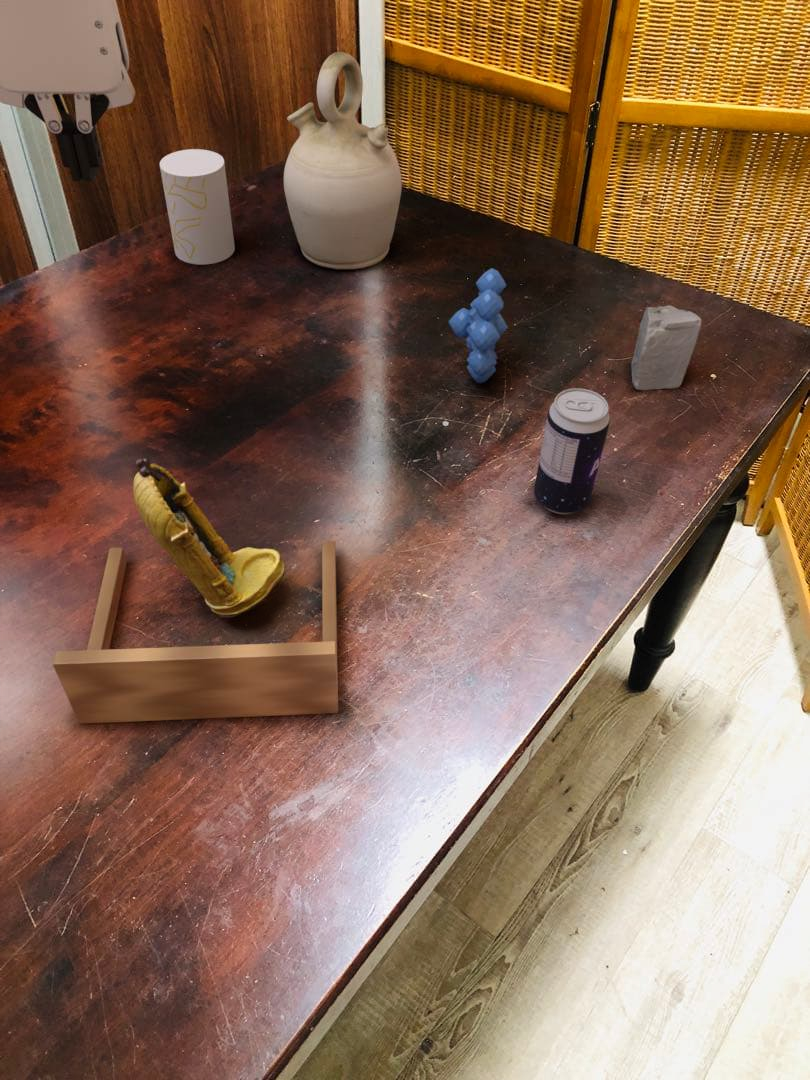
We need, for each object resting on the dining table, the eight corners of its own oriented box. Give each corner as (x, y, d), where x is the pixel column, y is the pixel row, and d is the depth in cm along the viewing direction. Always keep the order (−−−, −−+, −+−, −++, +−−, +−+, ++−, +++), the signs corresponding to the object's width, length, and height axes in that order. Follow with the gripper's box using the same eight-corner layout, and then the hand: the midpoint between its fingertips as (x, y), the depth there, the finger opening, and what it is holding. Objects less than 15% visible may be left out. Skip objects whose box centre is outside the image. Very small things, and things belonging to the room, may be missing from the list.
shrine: (147, 622, 76) (109, 497, 66) (173, 554, 82) (143, 428, 71) (277, 635, 76) (261, 511, 65) (295, 565, 81) (283, 440, 71)
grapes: (450, 337, 108) (457, 246, 99) (505, 343, 108) (517, 252, 99) (439, 394, 100) (446, 300, 91) (499, 400, 100) (511, 307, 91)
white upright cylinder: (162, 252, 120) (146, 164, 112) (204, 229, 125) (191, 144, 116) (206, 270, 117) (192, 182, 109) (246, 246, 122) (237, 160, 113)
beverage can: (588, 523, 86) (612, 427, 78) (530, 515, 87) (548, 419, 78) (590, 484, 90) (613, 389, 82) (534, 477, 91) (552, 382, 82)
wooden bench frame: (79, 724, 69) (52, 664, 64) (114, 562, 81) (94, 499, 75) (338, 713, 71) (335, 653, 65) (335, 555, 82) (333, 493, 77)
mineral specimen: (707, 378, 102) (714, 323, 96) (638, 402, 102) (641, 349, 96) (676, 341, 107) (681, 287, 101) (610, 364, 107) (611, 311, 100)
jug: (266, 246, 122) (248, 49, 104) (351, 212, 130) (348, 24, 112) (336, 290, 115) (330, 87, 97) (422, 252, 122) (431, 57, 104)
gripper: (139, -92, 65) (178, 156, 79) (-68, -96, 64) (7, 156, 78) (124, -67, 60) (169, 194, 74) (-102, -70, 59) (-15, 195, 73)
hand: (85, 174), depth 76 cm, fingers closed
